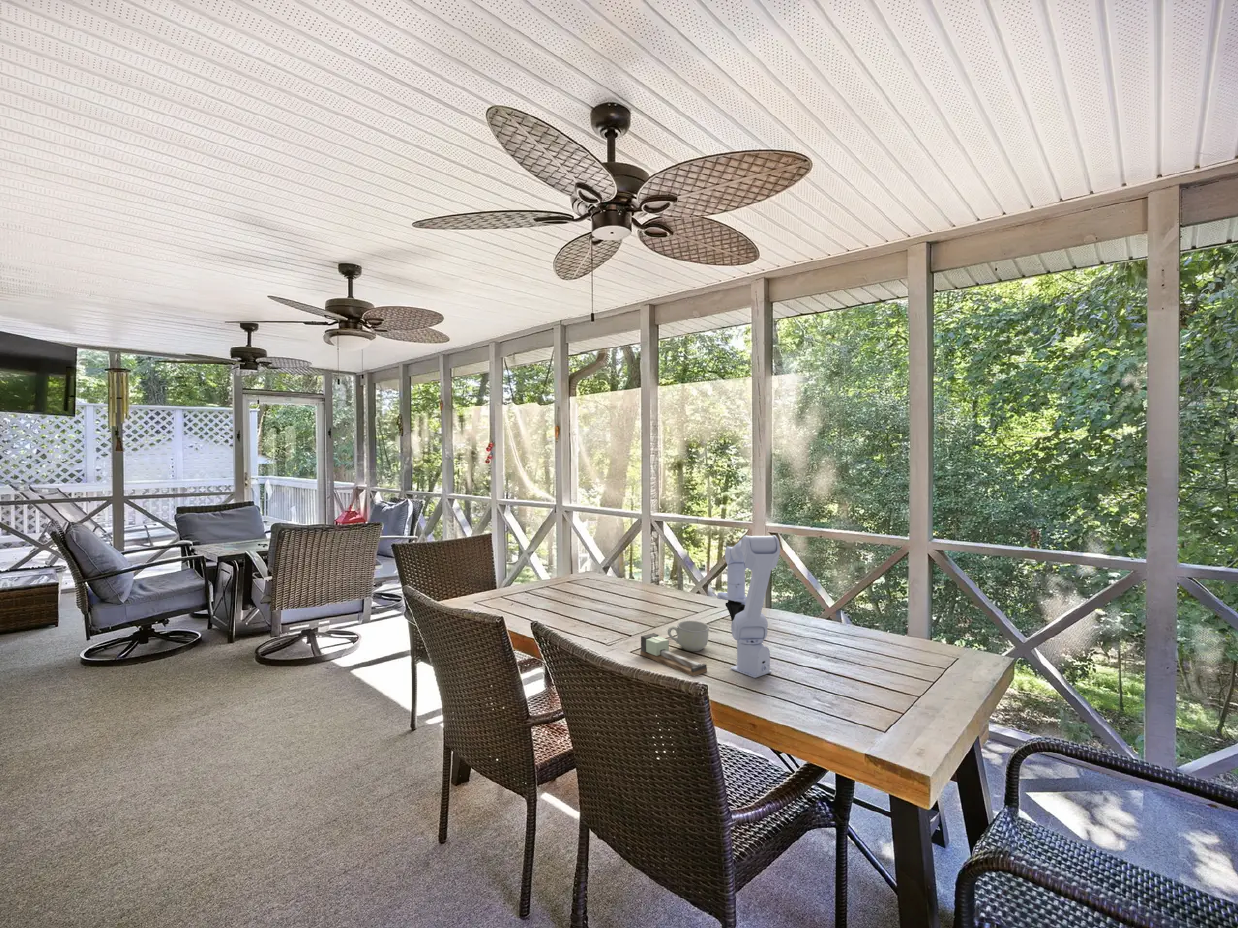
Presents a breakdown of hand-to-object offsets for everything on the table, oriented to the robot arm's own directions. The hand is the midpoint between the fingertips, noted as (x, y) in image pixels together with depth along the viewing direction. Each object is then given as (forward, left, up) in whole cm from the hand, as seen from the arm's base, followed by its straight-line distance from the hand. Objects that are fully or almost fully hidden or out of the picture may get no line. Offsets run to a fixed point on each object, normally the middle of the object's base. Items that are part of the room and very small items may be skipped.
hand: (735, 624), depth 190 cm
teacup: (+14, +8, -10) cm, 19 cm away
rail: (+7, +22, -10) cm, 25 cm away
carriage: (+14, +22, -8) cm, 27 cm away
